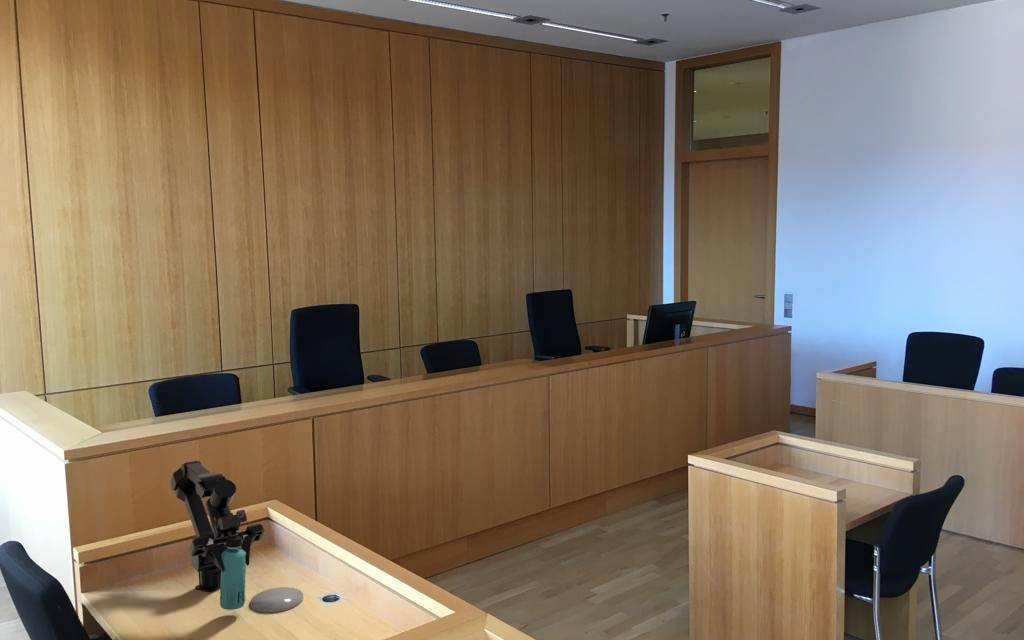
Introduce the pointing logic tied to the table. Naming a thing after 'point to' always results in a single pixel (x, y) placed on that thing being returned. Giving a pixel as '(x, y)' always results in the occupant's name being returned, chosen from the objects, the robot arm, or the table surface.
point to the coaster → (276, 600)
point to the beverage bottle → (233, 575)
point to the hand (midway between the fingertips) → (235, 568)
